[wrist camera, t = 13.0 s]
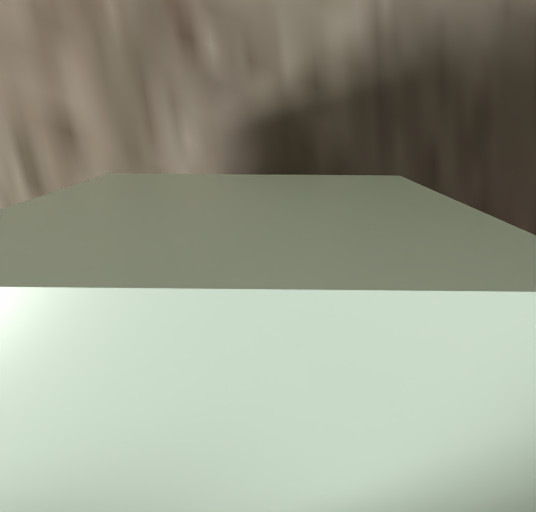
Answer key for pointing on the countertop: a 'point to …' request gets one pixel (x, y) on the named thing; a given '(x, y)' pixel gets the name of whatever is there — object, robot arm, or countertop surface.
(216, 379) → the mint green rectangular block
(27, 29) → the countertop surface
